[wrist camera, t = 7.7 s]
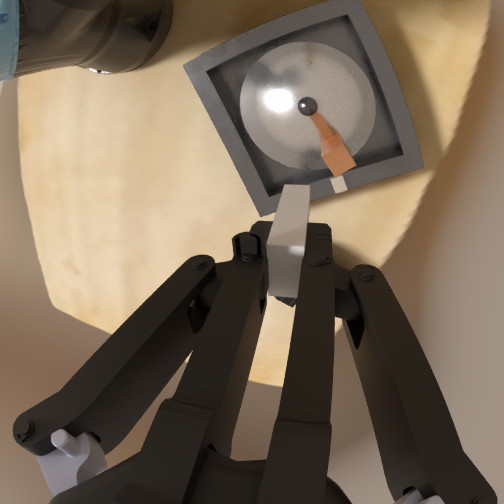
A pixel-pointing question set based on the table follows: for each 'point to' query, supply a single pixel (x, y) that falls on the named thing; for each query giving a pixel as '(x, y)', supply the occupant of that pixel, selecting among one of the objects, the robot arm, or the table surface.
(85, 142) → the table surface
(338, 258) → the table surface
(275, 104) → the dial
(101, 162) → the table surface
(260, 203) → the housing
